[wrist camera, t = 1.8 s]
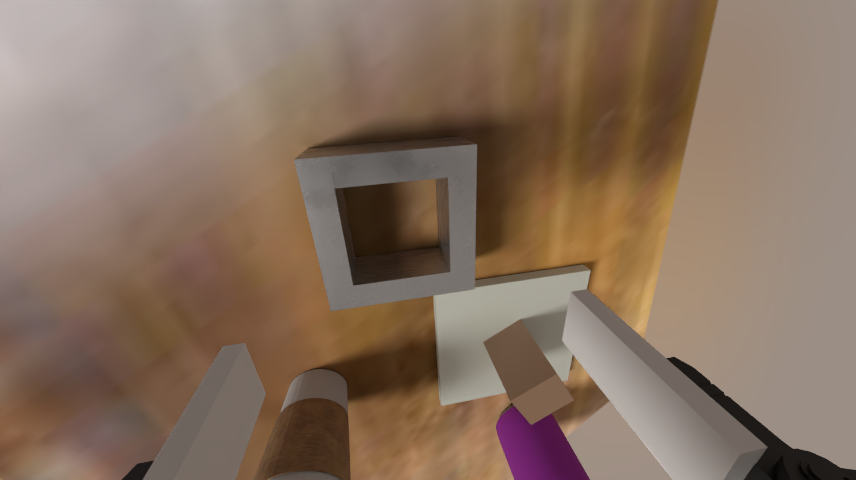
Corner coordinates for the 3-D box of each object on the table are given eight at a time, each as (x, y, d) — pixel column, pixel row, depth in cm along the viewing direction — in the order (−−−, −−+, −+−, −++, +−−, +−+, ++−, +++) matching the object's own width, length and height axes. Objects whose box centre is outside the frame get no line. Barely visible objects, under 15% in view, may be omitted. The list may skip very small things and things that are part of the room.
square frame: (307, 148, 22) (294, 159, 18) (458, 136, 24) (477, 144, 20) (336, 279, 27) (331, 311, 23) (460, 262, 29) (474, 289, 25)
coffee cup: (357, 355, 31) (348, 546, 18) (360, 409, 35) (355, 602, 22) (270, 363, 30) (191, 578, 17) (283, 419, 34) (226, 633, 20)
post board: (432, 286, 29) (453, 349, 22) (583, 264, 32) (647, 314, 24) (439, 396, 36) (456, 471, 29) (561, 372, 39) (606, 437, 31)
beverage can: (523, 438, 43) (574, 549, 33) (482, 428, 41) (522, 546, 30) (557, 403, 41) (623, 510, 31) (516, 390, 38) (572, 502, 28)
